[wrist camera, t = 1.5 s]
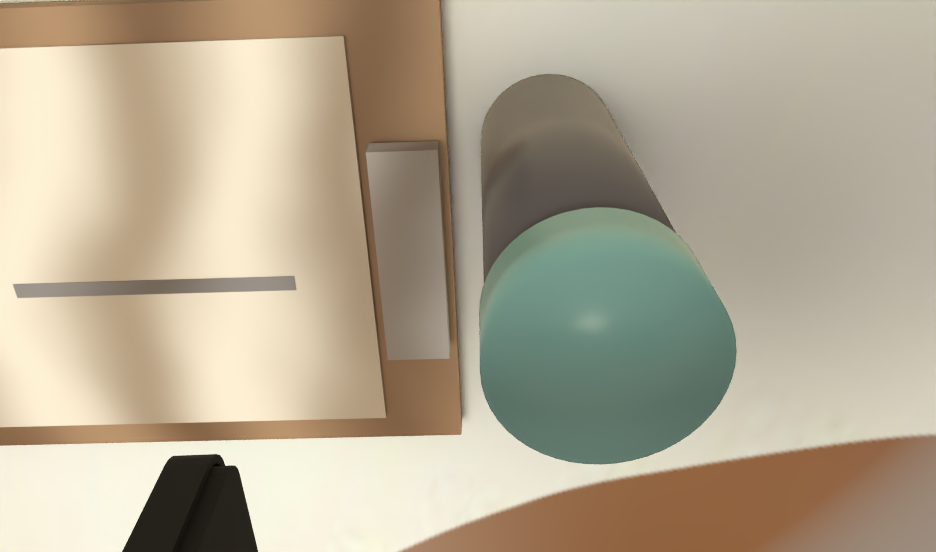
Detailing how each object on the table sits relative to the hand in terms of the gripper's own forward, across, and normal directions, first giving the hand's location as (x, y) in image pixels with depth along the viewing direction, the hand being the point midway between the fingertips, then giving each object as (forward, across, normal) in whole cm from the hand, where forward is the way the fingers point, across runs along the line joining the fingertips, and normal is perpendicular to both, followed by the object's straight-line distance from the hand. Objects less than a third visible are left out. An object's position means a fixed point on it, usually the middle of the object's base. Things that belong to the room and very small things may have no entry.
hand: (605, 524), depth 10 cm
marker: (+15, -1, 0) cm, 15 cm away
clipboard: (+15, +11, +3) cm, 19 cm away
